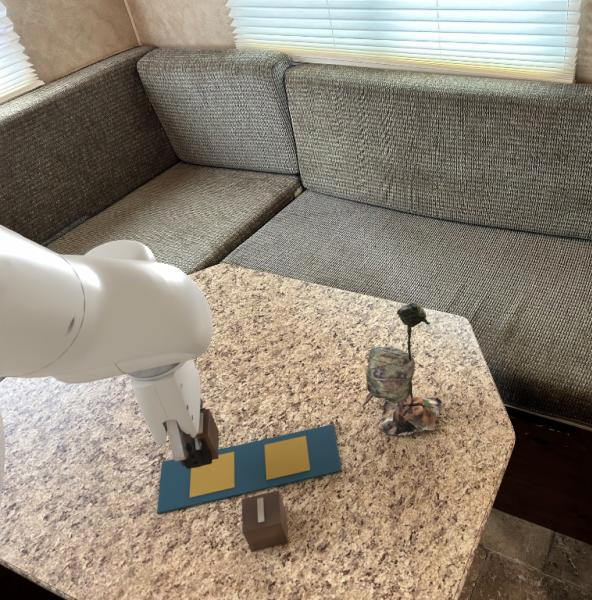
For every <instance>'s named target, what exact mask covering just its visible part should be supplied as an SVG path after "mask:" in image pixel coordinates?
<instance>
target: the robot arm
mask: <svg viewBox="0 0 592 600" xmlns="http://www.w3.org/2000/svg"><path fill="white" fill-rule="evenodd" d="M213 320H214V319H213V314H212V310H211V307H210V304H209V302H208V300H207V298H206V296H205V294H204V292H203V291H202V289H201V288H200V286H199V285H198V284H197V283H196V282H195V280H193V278H191V277H190V276H189V275H187V274H186V273H185V272H184V271H182V270H181V269H180V268H178V267H176V266H174V265H171V264H168V263H166V262H165V263H164V262H159V261H157V258H156V256H155V254H154V253H153V252H152V250H151V249H150V247H148V246H147V245H145V244H144V243H142V242H139V241H136V240H132V239H119V240H118V239H117V240H112V241H109V242H105V243H102V244H99V245H98V246H95V247H93V248H92V249H90V250H88V251H87V252H86V253H85V254H84V255H81V254H64V253H63V254H62V253H58V252H56V251H54V250H52V249H50V248H48V247H46V246H43V245H41V244H39V243H37V242H35V241H33V240H32V239H29V238H27V237H25V236H23V235H21V234H20V233H18V232H16V231H14V230H12V229H10V228H8V227H6V226H4V225H2V224H0V378H18V379H37V378H39V379H41V378H47V377H52V378H53V379H55V380H57V381H59V382H62V383H64V384H72V385H74V384H76V385H77V384H78V385H79V384H87V383H92V382H96V381H97V382H98V381H101V380H106V379H110V378H115V377H120V376H126V377H127V378H129V379H131V386H132V390H133V393H134V397H135V399H136V402H137V405H138V408H139V410H140V413H141V415H142V417H143V419H144V422H145V424H146V426H147V428H148V431H149V432H150V435H151V437H152V439H153V440H154V442H155V444H156V445H157V446H164V445H167V437H168V439H169V445H170V449H171V453H172V457H173V459H174V461H175V462H176V461H180V460H182V461H183V463H184V465H185V467H186V468H187V469H191V468H197V467H201V466H204V465H208V464H211V463H212V457H211V455H210V453H209V451H208V449H207V446H206V444H205V442H204V441H200V438H199V435H198V430H199V418H200V410H205V409H206V407H204V401H203V398H202V397H201V391H202V389H201V388H202V387H201V385H202V384H201V378H200V373H199V371H198V368H197V366H196V363H195V361H194V360H195V359H197V358H199V357H202V356H203V355H204V354H205V353H206V351H207V350H208V349H209V347H210V345H211V343H212V338H213V335H214V334H213V333H214V321H213ZM5 431H6V430H5V425H4V419H3V413H2V409H1V408H0V508H2V507H1V506H2V496H3V487H4V475H5V464H6V432H5ZM187 435H190V437H192V441H187V442H184V438H183V436H187Z"/></svg>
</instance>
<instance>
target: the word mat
mask: <svg viewBox="0 0 592 600" xmlns="http://www.w3.org/2000/svg"><path fill="white" fill-rule="evenodd" d="M342 472H343V469H342V464H341V459H340V452H339V446H338V440H337V433H336V428H335V424H334V423H331V424H327V425H322V426H318V427H313V428H309V429H303V430H299V431H295V432H291V433H286V434H281V435H277V436H272V437H268V438H267V437H266V438H264V439H263V438H262V439H259V440H255V441H250V442H245V443H241V444H235V445H231V446H227V447H223V448H219V458H218V459H214V460H212V463H211V464H208V465H204V466H201V467H197V468H191V469H187V468H186V467H185V466H182V465H181V463H180V461H176V462H175V461H174V458H173V459H168V460H164V461H162V462H161V468H160V478H159V490H158V499H157V508H156V514H157V515H162V514H165V513H170V512H174V511H179V510H183V509H187V508H191V507H196V506H200V505H204V504H208V503H213V502H217V501H222V500H225V499H226V500H227V499H230V498H235V497H239V496H243V495H248V494H252V493H257V492H260V491H261V492H262V491H265V490H269V489H273V488H278V487H282V486H286V485H290V484H295V483H299V482H305V481H308V480H313V479H318V478H321V477H325V476H331V475H334V474H339V473H342Z"/></svg>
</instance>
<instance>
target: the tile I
mask: <svg viewBox="0 0 592 600" xmlns="http://www.w3.org/2000/svg"><path fill="white" fill-rule="evenodd" d="M241 528H242V530H241V532H242V534H243V537H244V539H245V541H246V543H247V545H248V547H249V550H250V552H258V551H261V550H265V549H269V548H273V547H277V546H281V545H286V544H289V542H290V541H289V530H288V519H287V510H286V507H285V504H284V500H283V499H282V496H281V493H280V490H279V489H278V490H274V491H269V492H266V493H261V494H257V495H253V496H249V497H243V498H241Z"/></svg>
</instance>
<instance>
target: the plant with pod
mask: <svg viewBox="0 0 592 600" xmlns="http://www.w3.org/2000/svg"><path fill="white" fill-rule="evenodd" d="M396 314H397V315H398V317H399V319H400V321H401V323H403V325H404V326H406V328H407V329H406V333H407V351H406V350H403V349H400V348H398V347H391V346H375V345H374V346H372V347H371V348H370V350H369V353H368V364H367V369H366V371H365V380H366V381H365V382H366V390H367V392H368V394H367V395H366V398H365V400H364V401H363V402H362V403H361V408H364V407H365V406H367V404H368V403H369V402H370V401H371V400H372V398H373V397H374V398H377V399H384V402H383V404H382V406H383V407H382V410H383V411H382V415H381V417H382V418H381V426H380V429H381V430H382V432H383V433H385V434H386V435H396V436H400V437H401V436H405V437H406V436H409V435H411V434H415V432H419V433H422V432H424V430H425V431H428V430H429V431H433V432H434V431H436V429H438V427H439V424H440V421H439V420H440V419H442V416H440V415H441V414H440V412H441V411H442V410H441V406H442V404H443V401H442V399H440V398H439V396H437V397H428V396H425V395H421V394H418V393H416V392H415V393H414V394H413V377H414V374H415V372H416V367H415V366H416V362H415V361H416V360H415V359H414V357H413V356H412V348H411V347H412V345H411V339H412V338H411V337H412V328H414V327H417V325H419V324H421V323H424V324H425V325H427V326H429V325H431V323H430V322H429V320H427V312H426V311H425V309H424V308H423V307H422V305H420V304H419V303H417V302H416V301H411V302H408V303H404V304H403V305H401V306H400V307H399V308H398V309H397V310H396ZM374 343H375V341H374V340H372V341H371V342H370V344H374Z"/></svg>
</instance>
